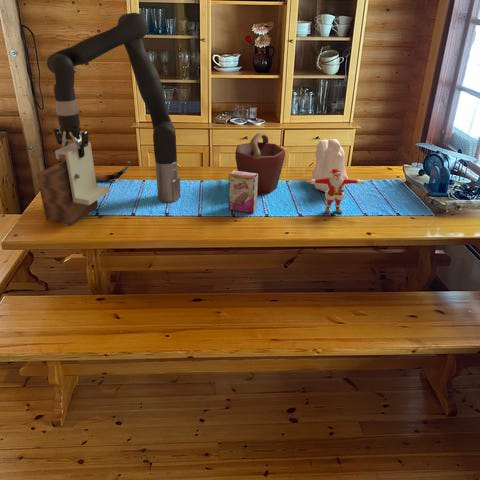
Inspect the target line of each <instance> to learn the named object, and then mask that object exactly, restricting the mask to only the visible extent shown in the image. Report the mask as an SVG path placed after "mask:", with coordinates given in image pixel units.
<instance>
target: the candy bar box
mask: <svg viewBox="0 0 480 480" xmlns="http://www.w3.org/2000/svg"><path fill="white" fill-rule="evenodd" d="M228 179H229V181H228V182H229V183H228V210H229V211H235V212H241V213H247V214H254V213H255V212H256V211H257V208H258V194H257V187H258V174H256V173H249V172H242V171H238V170H234V169H233V170H231V171H230V173H229V174H228Z"/></svg>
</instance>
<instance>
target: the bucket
mask: <svg viewBox="0 0 480 480" xmlns="http://www.w3.org/2000/svg"><path fill="white" fill-rule="evenodd" d="M260 139H262V142H261V141H260ZM269 142H270V141H269V136H268V135H267V134H264V133H256V134H255V135H254V136H253V137H252V138H251V140H250V142H248V143H247V142H246V143H242V144H237V146H236V149H235V164H236V169H237V171H242V172H249V173H256V174H258V187H257V195H266V194H267V195H269V194H271V193H273V192H274V191H275V190H276V189H277V188H278V184H279V181H280V177H281V173H282V170H283V166H284V162H285V158H286V149H284V148H283V147H282V146H280V145H278V144H277V143H272V142H270V143H269Z"/></svg>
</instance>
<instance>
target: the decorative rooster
mask: <svg viewBox="0 0 480 480" xmlns="http://www.w3.org/2000/svg"><path fill="white" fill-rule="evenodd" d="M314 155H315V166H314V169H313V170H312V172H311V173H312V179H323V178H330V177H333V174H332V173H333V172H331V171H332V170H333V169H339V170H340V171H341V175H340V176H341V177H342V178H347V179H349V177H348V175H347V170H346V167H345V166H346V165H345V151H344V148H343V147H342V146H341V143H340V142H339V140H338V139H336V138H330V139H329V140H328V139H321V140H319V141H318V143H317V145H316V149H315V154H314ZM329 172H331V173H329ZM313 186H314V188H315V189H317V190H319V191H321V192H326V191H328V190H329V187H328V184H321V183H315V184H313ZM347 186H349V184H344V186H343V188H342V189H341V191H342V190H343V189H344V188H345V187H347Z"/></svg>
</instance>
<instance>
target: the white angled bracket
mask: <svg viewBox="0 0 480 480" xmlns="http://www.w3.org/2000/svg"><path fill="white" fill-rule="evenodd" d="M79 144H80V143H79ZM92 151H93V150H92V144H91V142H90V141H88V146H86V147H84V153H85V156H84V157H83V158H79V153H78V147H77V145H76V144H75V143H74V142H72V143H70V144H68V145H67V146H65V147H63V146H62V147H60V148H59V149H56V150H55V151H54V153H55V159H56V160H59V159H62V158H64V157H65V160H66V161H67V167H68V173H69V179H70V185H71V191H72V197H73V202H75V203H80V204H86V205H90V204H92V203H93V202H95V201H96V200H97V201H98V200H99V199H102V197H104V196H106V195H108V194H109V193H110V191H111V190H110V187H109V186H104V185H100V184H99V185H97V181H96V178H95V173H96V171H95V165H94V156H93V152H92Z"/></svg>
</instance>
